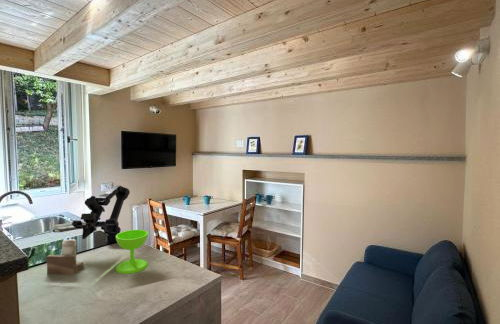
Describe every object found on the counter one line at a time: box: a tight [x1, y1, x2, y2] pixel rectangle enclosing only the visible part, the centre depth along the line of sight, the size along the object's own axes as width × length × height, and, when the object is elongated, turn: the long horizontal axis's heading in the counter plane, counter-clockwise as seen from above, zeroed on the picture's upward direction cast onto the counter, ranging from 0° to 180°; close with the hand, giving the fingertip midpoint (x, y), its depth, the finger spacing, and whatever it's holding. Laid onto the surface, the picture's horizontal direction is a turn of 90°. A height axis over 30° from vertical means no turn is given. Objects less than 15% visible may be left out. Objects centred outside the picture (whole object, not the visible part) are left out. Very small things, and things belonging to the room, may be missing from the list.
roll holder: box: [46, 254, 85, 276], centre depth 137 cm, size 19×14×10 cm
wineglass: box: [115, 229, 149, 275], centre depth 141 cm, size 16×16×18 cm
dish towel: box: [51, 222, 77, 233], centre depth 202 cm, size 19×18×3 cm
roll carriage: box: [61, 238, 81, 266], centre depth 135 cm, size 9×9×14 cm
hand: (83, 238), depth 145 cm, fingers closed
